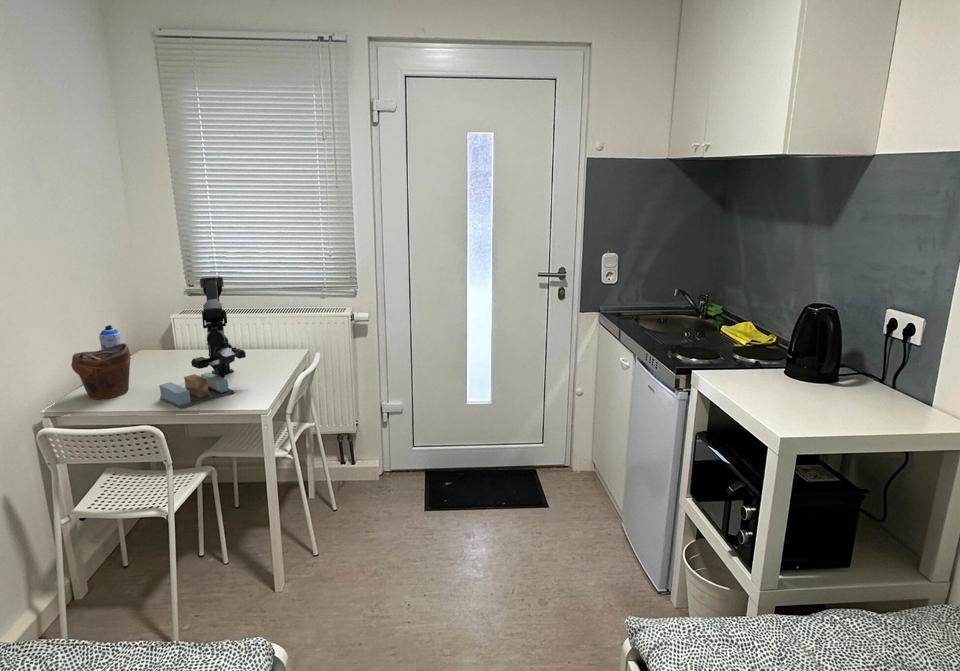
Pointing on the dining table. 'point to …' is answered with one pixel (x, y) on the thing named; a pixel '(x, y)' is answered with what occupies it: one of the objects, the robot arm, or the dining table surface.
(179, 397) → the block
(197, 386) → the walnut block
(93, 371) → the brown tapered container
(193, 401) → the vise bed
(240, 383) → the dining table surface
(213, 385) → the moving jaw
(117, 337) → the aerosol can
